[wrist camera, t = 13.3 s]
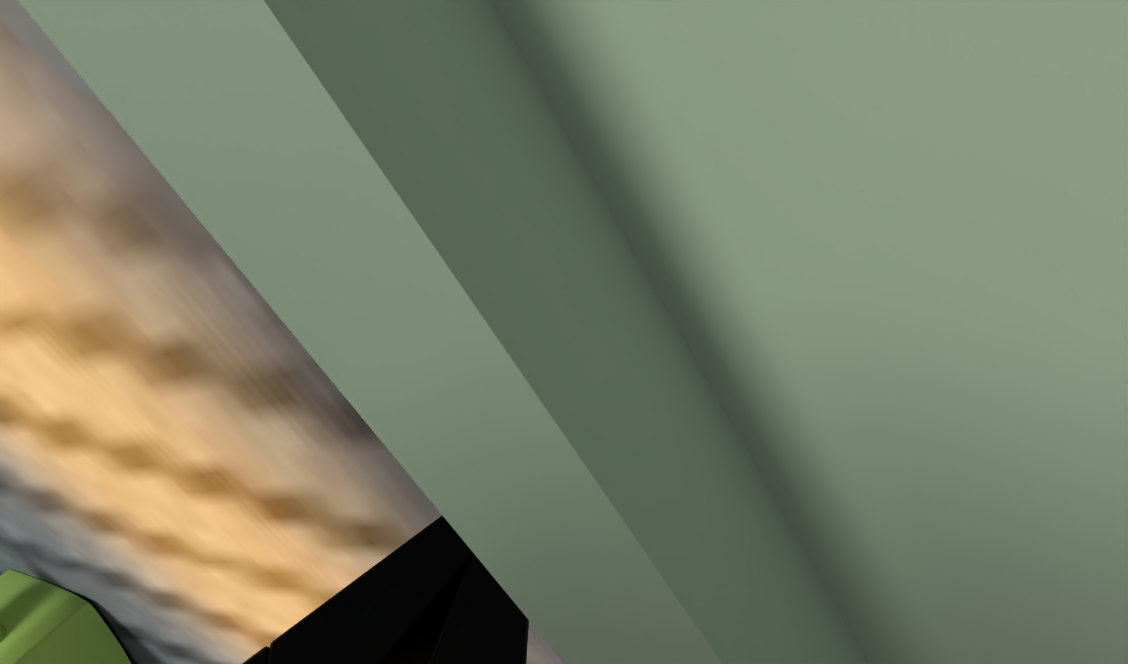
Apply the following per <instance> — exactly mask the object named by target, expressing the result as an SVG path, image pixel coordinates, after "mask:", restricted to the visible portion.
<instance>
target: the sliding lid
mask: <svg viewBox="0 0 1128 664" xmlns="http://www.w3.org/2000/svg"><path fill="white" fill-rule="evenodd" d="M18 1H19V2H20V3H21V5H22V6H23V7H24V8H25V10H26V11H27V12H28V13H29V14H30V16H31V17H32V18H33V19H34V20H35V22H36V23H37V24H38V25H39V26H40V28H41V29H42V30H43V31H44V33H45V34H46V35H47V36H48V37H49V39H50V40H51V41H52V42H53V43H54V45H55V46H56V47H57V48H58V50H59V51H60V52H61V53H62V54H63V55H64V57H65V58H66V59H67V60H68V62H69V63H70V64H71V65H72V67H73V68H74V69H75V70H76V71H77V73H78V74H79V75H80V76H81V77H82V79H83V80H84V81H85V82H86V84H87V85H88V86H89V87H90V88H91V90H92V91H93V92H94V93H95V94H96V96H97V97H98V98H99V99H100V100H101V102H102V103H103V104H104V105H105V107H106V108H107V109H108V110H109V111H110V113H111V114H112V115H113V116H114V117H115V119H116V120H117V121H118V122H119V124H120V125H121V126H122V127H123V128H124V130H125V131H126V132H127V133H128V134H129V136H130V137H131V138H132V139H133V141H134V142H135V143H136V144H137V145H138V147H139V148H140V149H141V150H142V151H143V153H144V154H145V155H146V156H147V158H148V159H149V160H150V161H151V162H152V164H153V165H154V166H155V167H156V168H157V170H158V171H159V172H160V173H161V174H162V176H163V177H164V178H165V179H166V181H167V182H168V183H169V184H170V185H171V187H172V188H173V189H174V190H175V191H176V193H177V194H178V195H179V196H180V198H181V199H182V200H183V201H184V202H185V204H186V205H187V206H188V207H189V208H190V210H191V211H192V212H193V213H194V215H195V216H196V217H197V218H198V219H199V221H200V222H201V223H202V224H203V225H204V227H205V228H206V229H207V230H208V232H209V233H210V234H211V235H212V236H213V238H214V239H215V240H216V241H217V242H218V244H219V245H220V246H221V247H222V248H223V250H224V251H225V252H226V253H227V255H228V256H229V257H230V258H231V259H232V261H233V262H234V263H235V264H236V265H237V267H238V268H239V269H240V270H241V272H242V273H243V274H244V275H245V276H246V278H247V279H248V280H249V281H250V282H251V284H252V285H253V286H254V287H255V289H256V290H257V291H258V292H259V293H260V295H261V296H262V297H263V298H264V299H265V301H266V302H267V303H268V304H269V306H270V307H271V308H272V309H273V310H274V312H275V313H276V314H277V315H278V316H279V318H280V319H281V320H282V321H283V323H284V324H285V325H286V326H287V327H288V329H289V330H290V331H291V332H292V333H293V335H294V336H295V337H296V338H297V339H298V341H299V342H300V343H301V344H302V346H303V347H304V348H305V349H306V350H307V352H308V353H309V354H310V355H311V356H312V358H313V359H314V360H315V361H316V363H317V364H318V365H319V366H320V367H321V369H322V370H323V371H324V372H325V373H326V375H327V376H328V377H329V378H330V380H331V381H332V382H333V383H334V384H335V386H336V387H337V388H338V389H339V390H340V392H341V393H342V394H343V395H344V397H345V398H346V399H347V400H348V401H349V403H350V404H351V405H352V406H353V407H354V409H355V410H356V411H357V412H358V413H359V415H360V416H361V417H362V418H363V420H364V421H365V422H366V423H367V424H368V426H369V427H370V428H371V429H372V430H373V432H374V433H375V434H376V435H377V437H378V438H379V439H380V440H381V441H382V443H383V444H384V445H385V446H386V447H387V449H388V450H389V451H390V452H391V454H392V455H393V456H394V457H395V458H396V460H397V461H398V462H399V463H400V464H401V466H402V467H403V468H404V469H405V471H406V472H407V473H408V474H409V475H410V477H411V478H412V479H413V480H414V481H415V483H416V484H417V485H418V486H419V487H420V489H421V490H422V491H423V492H424V494H425V495H426V496H427V497H428V498H429V500H430V501H431V502H432V503H433V504H434V506H435V507H436V508H437V509H438V511H439V512H440V513H441V514H442V515H443V517H444V518H445V519H446V520H447V521H448V523H449V524H450V525H451V526H452V528H453V529H454V530H455V531H456V532H457V534H458V535H459V536H460V537H461V538H462V540H463V541H464V542H465V543H466V545H467V546H468V547H469V548H470V549H471V551H472V552H473V553H474V554H475V555H476V557H477V558H478V559H479V560H480V561H481V563H482V564H483V565H484V566H485V568H486V569H487V570H488V571H489V572H490V574H491V575H492V576H493V577H494V578H495V580H496V581H497V582H498V583H499V585H500V586H501V587H502V588H503V589H504V591H505V592H506V593H507V594H508V595H509V597H510V598H511V599H512V600H513V602H514V603H515V604H516V605H517V606H518V608H519V609H520V610H521V611H522V612H523V614H524V615H525V616H526V617H527V619H528V620H529V621H530V622H531V623H532V625H533V626H534V627H535V628H536V629H537V631H538V632H539V633H540V634H541V636H542V637H543V638H544V639H545V640H546V642H547V643H548V644H549V645H550V646H551V648H552V649H553V650H554V651H555V652H556V654H557V655H558V656H559V657H560V659H561V660H562V661H563V662H564V663H565V664H1128V0H18Z"/></svg>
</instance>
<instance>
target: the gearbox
mask: <svg viewBox="0 0 1128 664" xmlns="http://www.w3.org/2000/svg"><path fill="white" fill-rule="evenodd" d="M0 664H131V662H130V661H129V659H128V657H127V655H126V654H125V652H124V650H123V649H122V647H121V645H120V644H119V642H118V641H117V639H116V638H115V636H114V635H113V633H112V632H111V631H110V629H109V628H108V626H107V625H106V624H105V622H104V621H103V619H102V618H101V617H100V615H99V614H98V613H97V611H96V610H95V609H94V608H93V606H92V605H91V604H90V603H88V602H87V601H85V600H84V599H82V598H80V597H78V596H77V595H75V594H73V593H71V592H68V591H66V590H64V589H62V588H59V587H57V586H54V585H52V584H50V583H47V582H45V581H42V580H39V579H37V578H34V577H31V576H28V575H25V574H23V573H20V572H17V571H14V570H11V569H10V570H7V571H6V572H5V573H3V574H2V575H1V576H0Z"/></svg>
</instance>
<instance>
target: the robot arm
mask: <svg viewBox="0 0 1128 664" xmlns="http://www.w3.org/2000/svg"><path fill="white" fill-rule="evenodd" d="M528 627H529V620H528V619H527V617H526V616H525V615H524V614H523V612H522V611H521V610H520V609H519V608H518V606H517V605H516V604H515V603H514V602H513V600H512V599H511V598H510V597H509V595H508V594H507V593H506V592H505V591H504V589H503V588H502V587H501V586H500V585H499V583H498V582H497V581H496V580H495V578H494V577H493V576H492V575H491V574H490V572H489V571H488V570H487V569H486V568H485V566H484V565H483V564H482V563H481V561H480V560H479V559H478V558H477V557H476V555H475V554H474V553H473V552H472V551H471V549H470V548H469V547H468V546H467V545H466V543H465V542H464V541H463V540H462V538H461V537H460V536H459V535H458V534H457V532H456V531H455V530H454V529H453V528H452V526H451V525H450V524H449V523H448V521H447V520H446V519H445V518H444V517H443V515H442V516H441V517H440V518H438V519H437V520H435V521H434V522H433V523H431V524H430V525H429V526H427V527H426V528H425V529H423V530H422V531H421V532H419V533H418V534H417V535H415V536H414V537H413V538H411V539H410V540H409V541H407V542H406V543H405V544H403V545H402V546H400V547H399V548H398V549H396V550H395V551H394V552H392V553H391V554H390V555H388V556H387V557H386V558H384V559H383V560H382V561H380V562H379V563H378V564H376V565H375V566H374V567H372V568H371V569H369V570H368V571H367V572H365V573H364V574H363V575H361V576H360V577H359V578H357V579H356V580H355V581H353V582H352V583H351V584H349V585H348V586H347V587H345V588H344V589H343V590H341V591H340V592H338V593H337V594H336V595H334V596H333V597H332V598H330V599H329V600H328V601H326V602H325V603H324V604H322V605H321V606H320V607H318V608H317V609H316V610H314V611H313V612H312V613H310V614H309V615H307V616H306V617H305V618H303V619H302V620H301V621H299V622H298V623H297V624H295V625H294V626H293V627H291V628H290V629H289V630H287V631H286V632H285V633H283V634H282V635H281V636H279V637H278V638H276V639H275V640H274V641H272V643H271V645H270V648H269V647H264V648H262V649H261V650H260V651H258V652H257V653H256V654H254V655H253V656H252V657H250V658H249V659H248V660H246V661H245V662H244V663H242V664H526V658H527V642H528Z"/></svg>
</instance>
